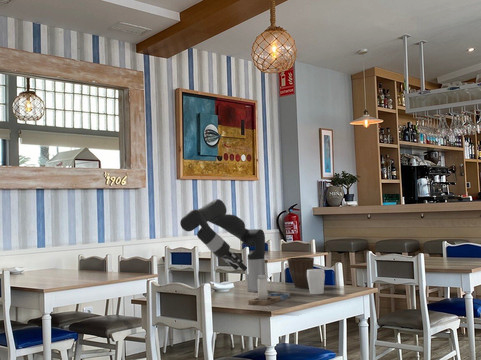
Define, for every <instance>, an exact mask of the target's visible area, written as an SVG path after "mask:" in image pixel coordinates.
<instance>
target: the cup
mask: <svg viewBox="0 0 481 360" xmlns="http://www.w3.org/2000/svg"><path fill="white" fill-rule="evenodd" d="M325 277H326V274H325V269H324V268H313V269H309V270H307V279H308V285H309V287H308V288H309V289H308V290H309V293H310V295H323V294H324V289H325Z"/></svg>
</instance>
